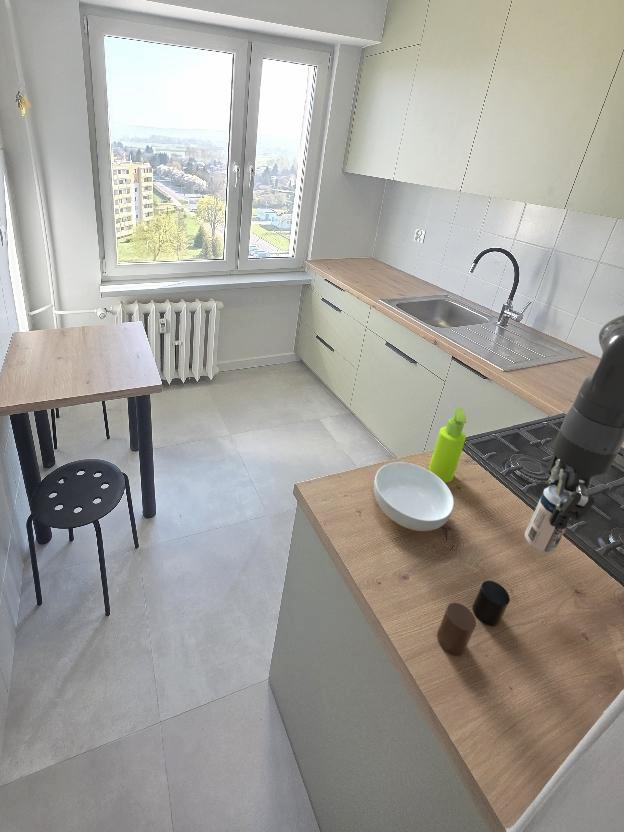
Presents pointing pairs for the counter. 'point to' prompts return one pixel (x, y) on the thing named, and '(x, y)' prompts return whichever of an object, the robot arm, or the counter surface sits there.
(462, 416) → the soap dispenser
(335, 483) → the counter surface
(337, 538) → the counter surface
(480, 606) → the black post
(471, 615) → the walnut post
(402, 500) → the cereal bowl
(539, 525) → the beer can
